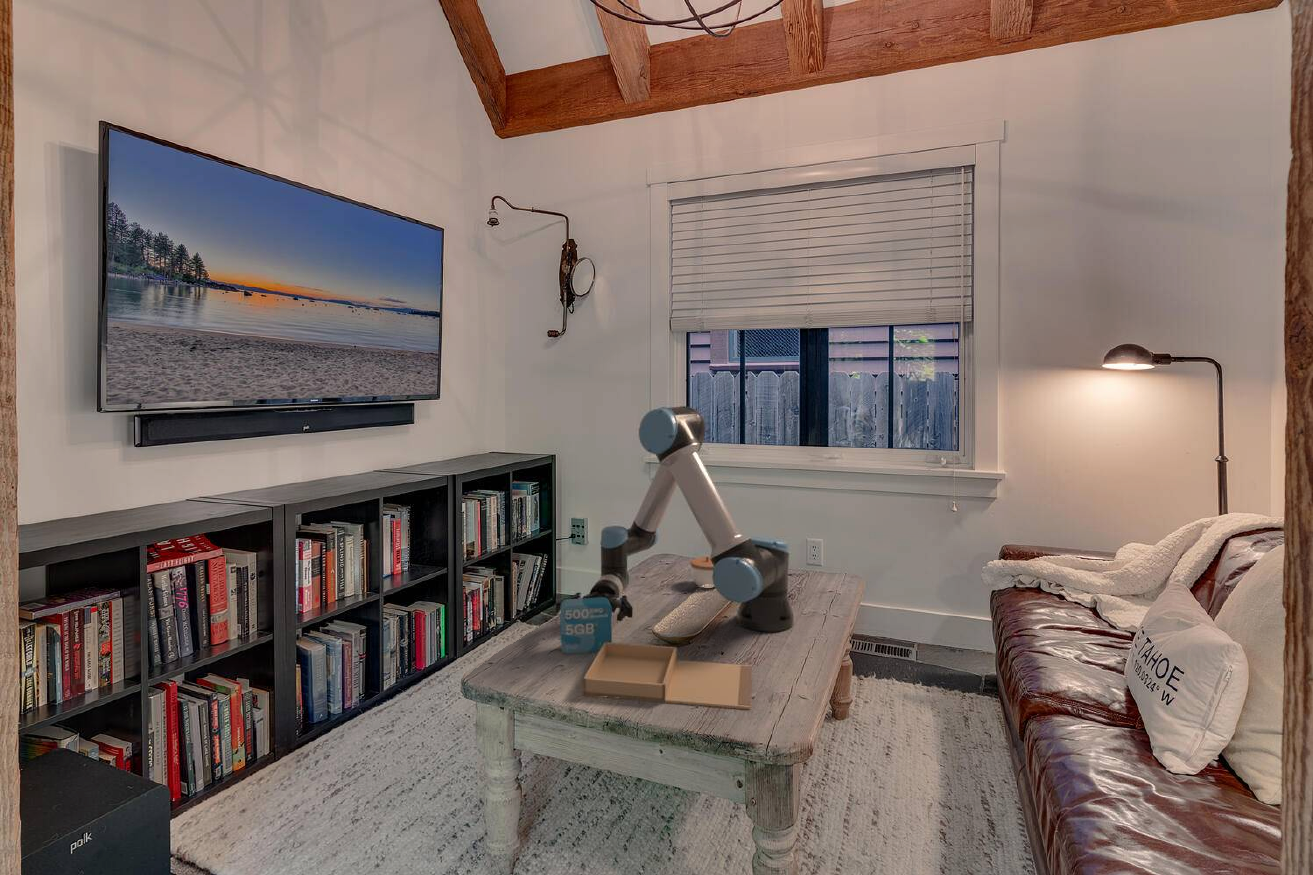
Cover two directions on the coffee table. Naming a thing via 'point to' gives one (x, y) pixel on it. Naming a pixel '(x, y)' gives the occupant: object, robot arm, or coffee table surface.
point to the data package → (585, 624)
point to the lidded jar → (702, 571)
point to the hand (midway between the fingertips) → (585, 621)
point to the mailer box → (666, 677)
